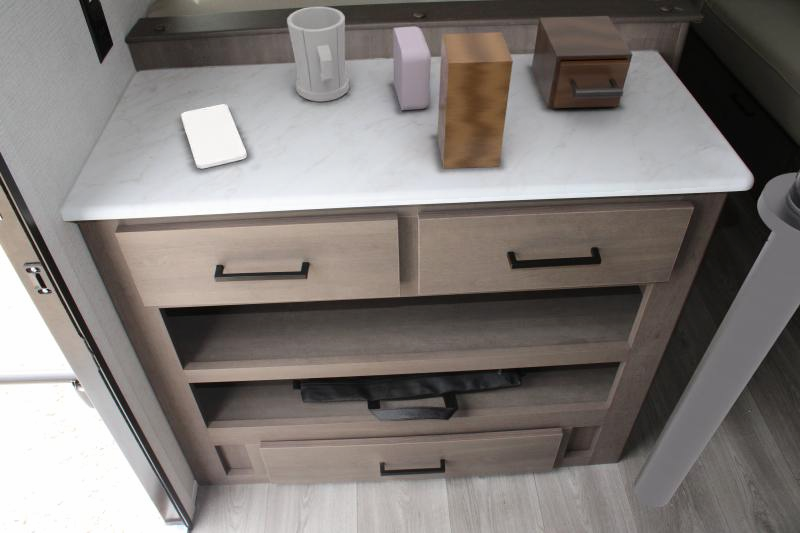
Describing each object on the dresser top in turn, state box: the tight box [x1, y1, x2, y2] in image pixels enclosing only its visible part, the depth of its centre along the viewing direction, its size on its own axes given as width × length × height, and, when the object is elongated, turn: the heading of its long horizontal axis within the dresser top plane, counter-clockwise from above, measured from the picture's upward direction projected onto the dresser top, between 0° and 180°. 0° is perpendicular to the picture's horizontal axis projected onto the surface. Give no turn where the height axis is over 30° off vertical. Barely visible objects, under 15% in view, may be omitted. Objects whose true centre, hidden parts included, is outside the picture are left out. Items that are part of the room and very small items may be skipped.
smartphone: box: [180, 103, 248, 170], centre depth 95 cm, size 7×1×15 cm
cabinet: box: [531, 15, 633, 110], centre depth 102 cm, size 13×11×9 cm
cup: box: [286, 6, 350, 103], centre depth 100 cm, size 10×9×12 cm
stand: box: [437, 31, 514, 169], centre depth 86 cm, size 8×8×16 cm
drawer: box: [552, 59, 631, 109], centre depth 99 cm, size 17×10×7 cm, turn 2°
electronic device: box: [392, 25, 432, 111], centre depth 100 cm, size 10×5×10 cm, turn 8°
